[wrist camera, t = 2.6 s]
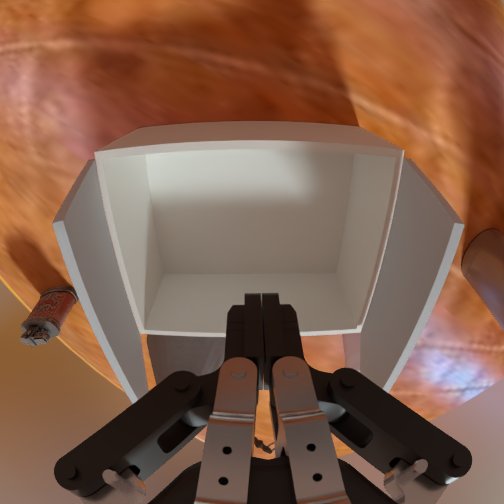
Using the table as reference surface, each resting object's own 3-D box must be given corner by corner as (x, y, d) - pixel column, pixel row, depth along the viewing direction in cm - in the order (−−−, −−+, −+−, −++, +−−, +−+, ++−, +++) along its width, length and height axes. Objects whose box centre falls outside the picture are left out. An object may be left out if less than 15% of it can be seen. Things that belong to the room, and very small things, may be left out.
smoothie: (328, 318, 41) (349, 404, 29) (371, 303, 40) (404, 385, 28) (336, 344, 44) (355, 423, 32) (375, 331, 43) (402, 408, 31)
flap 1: (63, 220, 10) (52, 222, 10) (156, 429, 19) (150, 430, 19) (94, 159, 18) (88, 160, 18) (140, 335, 27) (135, 336, 27)
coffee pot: (138, 332, 42) (112, 417, 30) (176, 288, 38) (150, 387, 25) (247, 386, 50) (247, 463, 37) (294, 356, 45) (304, 442, 33)
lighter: (49, 307, 40) (22, 351, 32) (38, 291, 39) (9, 335, 30) (83, 301, 39) (56, 351, 31) (71, 283, 38) (41, 332, 29)
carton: (359, 126, 27) (404, 150, 19) (338, 273, 37) (360, 332, 28) (139, 127, 27) (94, 152, 19) (161, 274, 37) (140, 333, 28)
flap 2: (403, 157, 18) (410, 158, 18) (360, 334, 28) (365, 334, 27) (454, 222, 10) (464, 224, 10) (356, 430, 19) (362, 430, 19)
